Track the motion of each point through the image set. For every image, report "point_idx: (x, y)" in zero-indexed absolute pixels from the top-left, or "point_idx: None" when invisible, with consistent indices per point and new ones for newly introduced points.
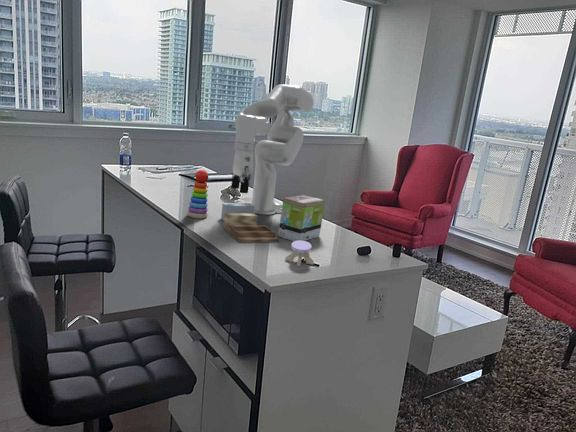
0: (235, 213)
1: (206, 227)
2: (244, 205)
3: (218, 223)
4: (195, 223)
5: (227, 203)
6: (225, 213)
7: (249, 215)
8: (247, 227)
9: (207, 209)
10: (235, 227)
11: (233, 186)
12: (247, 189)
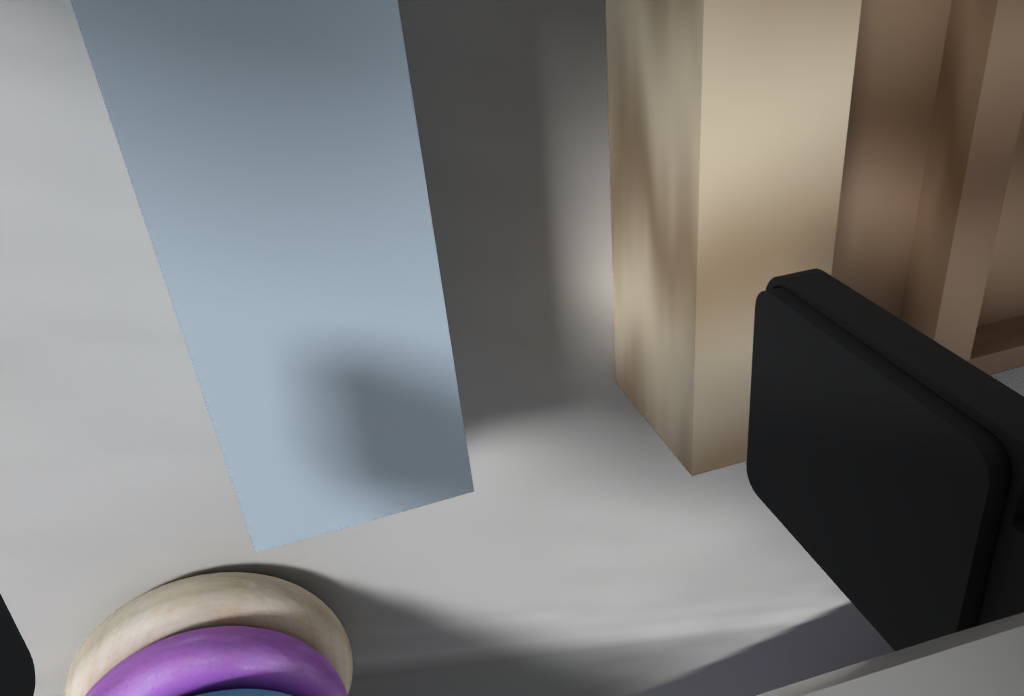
0: (705, 325)
1: (694, 542)
2: (354, 120)
3: (527, 432)
4: (549, 641)
5: (253, 470)
6: (711, 464)
7: (835, 103)
8: (998, 164)
9: (232, 649)
10: (968, 313)
11: (9, 688)
12: (879, 333)
